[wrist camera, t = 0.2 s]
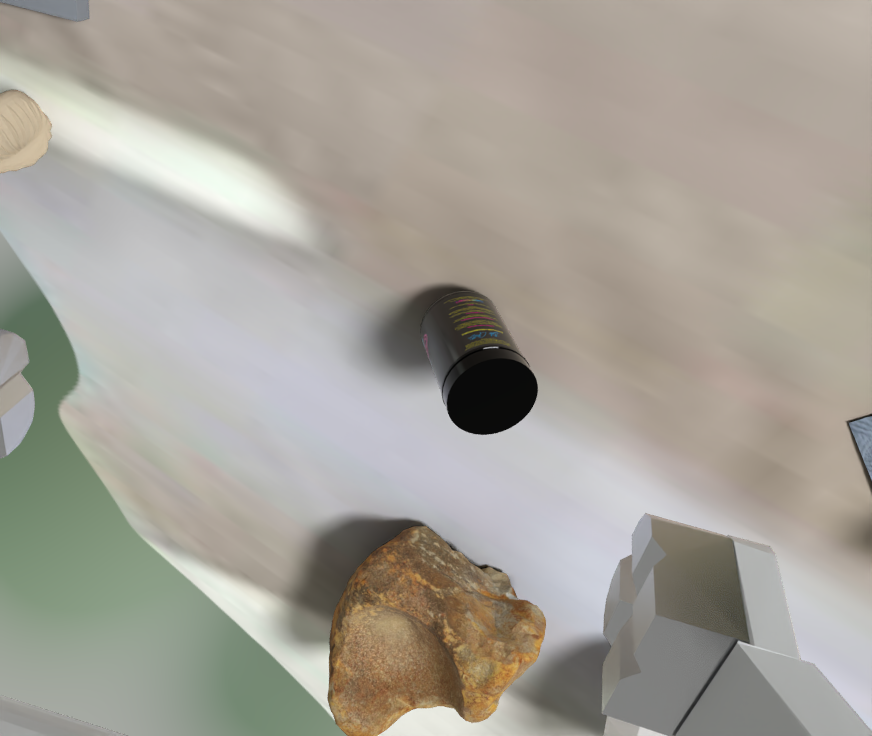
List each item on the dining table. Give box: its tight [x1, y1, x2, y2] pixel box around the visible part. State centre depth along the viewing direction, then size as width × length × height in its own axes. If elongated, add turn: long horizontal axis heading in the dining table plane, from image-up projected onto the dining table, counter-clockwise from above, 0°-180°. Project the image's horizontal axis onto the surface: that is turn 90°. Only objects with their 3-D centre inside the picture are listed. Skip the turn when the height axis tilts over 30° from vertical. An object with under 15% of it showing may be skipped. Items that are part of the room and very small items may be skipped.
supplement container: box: [420, 291, 538, 435], centre depth 58 cm, size 7×7×10 cm
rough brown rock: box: [328, 526, 546, 736], centre depth 73 cm, size 23×17×15 cm
